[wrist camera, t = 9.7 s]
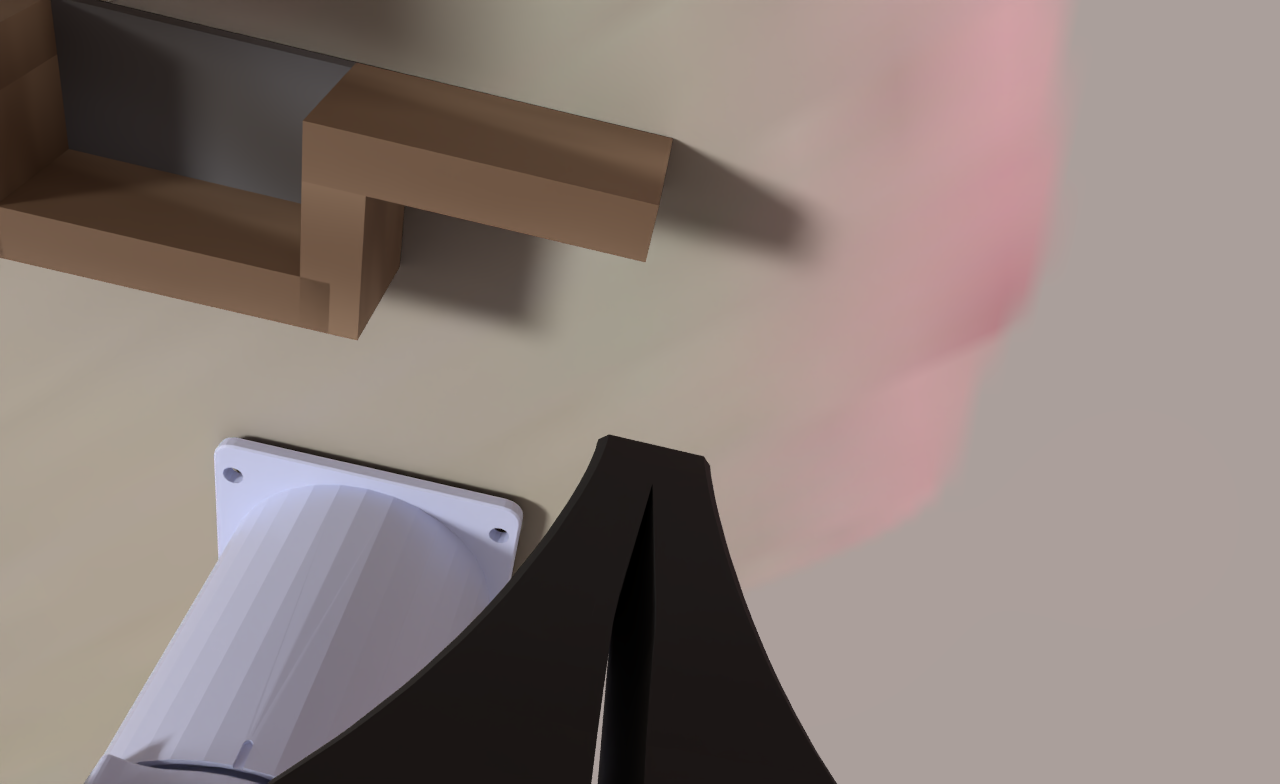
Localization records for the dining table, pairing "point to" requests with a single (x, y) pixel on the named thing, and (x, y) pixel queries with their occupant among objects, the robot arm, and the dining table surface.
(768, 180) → the dining table surface
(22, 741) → the dining table surface
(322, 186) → the wooden frame
